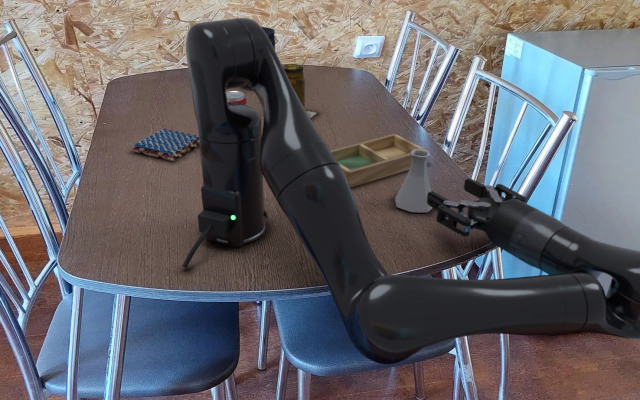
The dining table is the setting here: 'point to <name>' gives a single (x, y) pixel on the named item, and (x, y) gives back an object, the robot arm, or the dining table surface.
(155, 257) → the dining table surface
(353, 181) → the wooden compartment tray
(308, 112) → the condiment
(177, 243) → the dining table surface
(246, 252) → the dining table surface
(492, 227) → the robot arm
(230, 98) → the soda can
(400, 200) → the flask
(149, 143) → the woven mat
